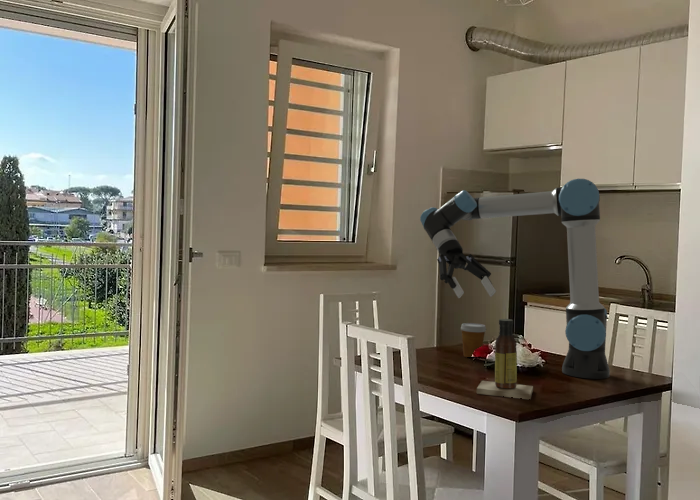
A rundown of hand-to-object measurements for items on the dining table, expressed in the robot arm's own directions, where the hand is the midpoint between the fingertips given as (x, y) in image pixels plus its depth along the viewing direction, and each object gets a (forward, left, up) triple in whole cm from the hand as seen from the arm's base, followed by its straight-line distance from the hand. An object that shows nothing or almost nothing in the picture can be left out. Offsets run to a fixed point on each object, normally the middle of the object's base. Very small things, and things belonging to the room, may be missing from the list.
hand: (477, 294), depth 212 cm
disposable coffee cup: (+6, -37, -27) cm, 46 cm away
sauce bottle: (-11, +15, -25) cm, 32 cm away
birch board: (-11, +15, -27) cm, 33 cm away
